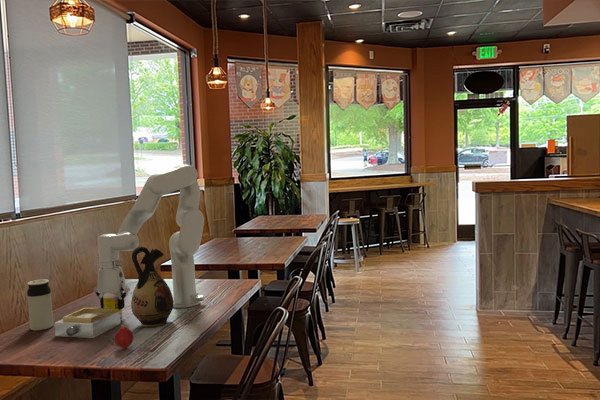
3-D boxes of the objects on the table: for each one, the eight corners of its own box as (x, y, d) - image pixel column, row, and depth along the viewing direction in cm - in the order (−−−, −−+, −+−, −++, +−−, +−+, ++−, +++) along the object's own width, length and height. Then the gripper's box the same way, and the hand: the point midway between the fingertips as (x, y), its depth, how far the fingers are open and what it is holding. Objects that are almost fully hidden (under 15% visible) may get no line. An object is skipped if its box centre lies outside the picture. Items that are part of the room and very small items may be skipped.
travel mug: (58, 324, 195) (54, 279, 194) (41, 331, 187) (37, 284, 186) (42, 323, 197) (38, 278, 196) (25, 330, 190) (21, 283, 189)
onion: (118, 346, 168) (116, 323, 167) (135, 345, 168) (134, 321, 168) (113, 352, 162) (111, 328, 161) (131, 351, 162) (129, 327, 162)
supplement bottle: (116, 320, 198) (113, 288, 197) (101, 320, 199) (98, 288, 198) (125, 315, 204) (123, 284, 203) (110, 314, 205) (108, 284, 205)
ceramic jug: (161, 315, 202) (157, 241, 200) (182, 322, 191) (177, 244, 189) (121, 325, 190) (115, 247, 188) (140, 334, 179) (134, 251, 177)
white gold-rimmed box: (120, 323, 193) (119, 307, 192) (89, 340, 175) (88, 321, 175) (84, 322, 197) (83, 306, 196) (51, 338, 179) (49, 320, 179)
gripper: (134, 263, 201) (137, 306, 203) (96, 262, 206) (100, 305, 207) (123, 267, 194) (126, 311, 195) (84, 266, 199) (88, 310, 200)
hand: (112, 308), depth 201 cm, fingers open, 7 cm apart
